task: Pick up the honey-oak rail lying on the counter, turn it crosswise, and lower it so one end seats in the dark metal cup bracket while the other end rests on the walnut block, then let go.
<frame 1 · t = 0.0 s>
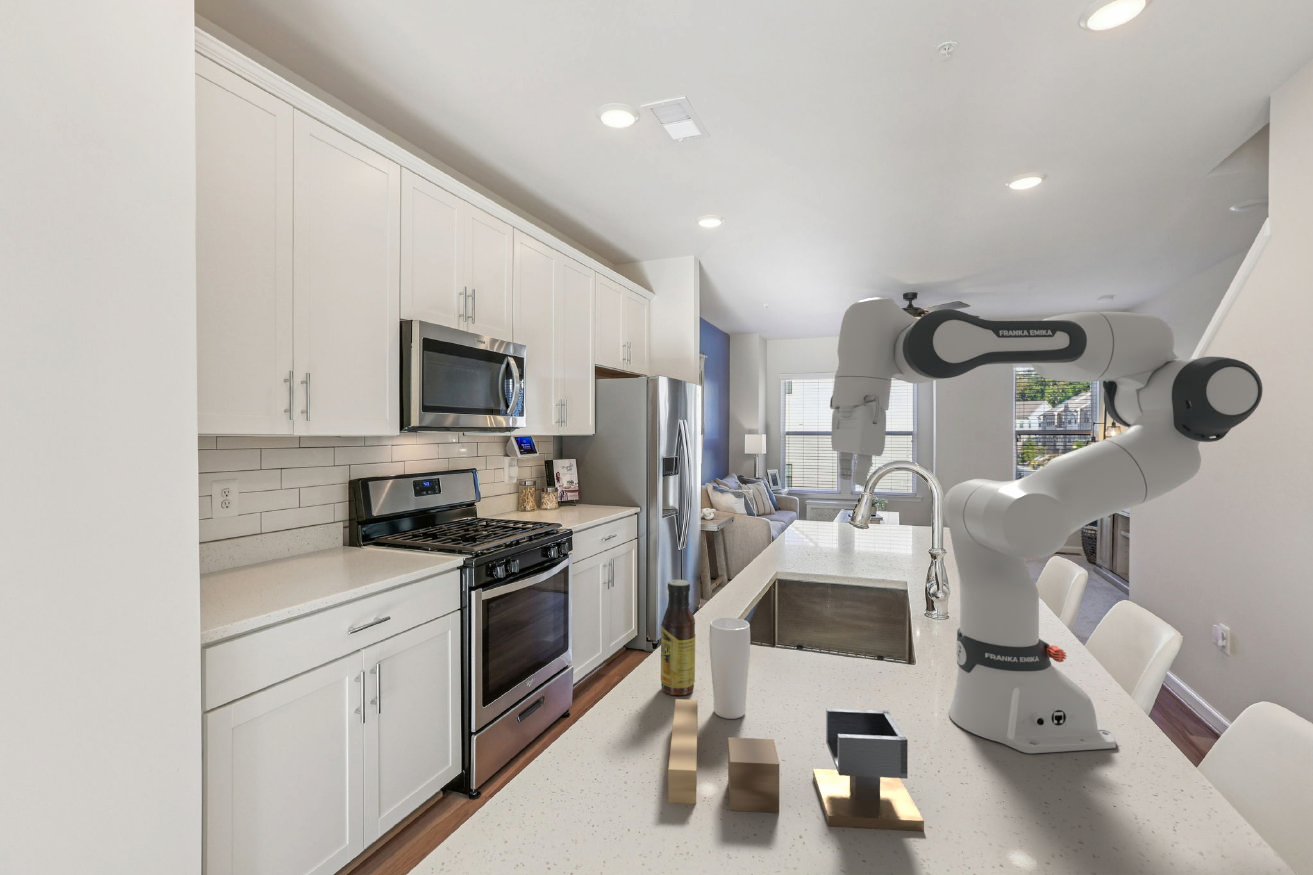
hand: (851, 481, 98), 39 cm above the counter, tool pointing down, fingers open, 8 cm apart
walnut block: (752, 796, 76), on the counter
sauce bottle: (677, 691, 108), on the counter
oak rail: (684, 761, 85), on the counter
cup bracket: (864, 802, 75), on the counter
drinking glass: (729, 714, 99), on the counter
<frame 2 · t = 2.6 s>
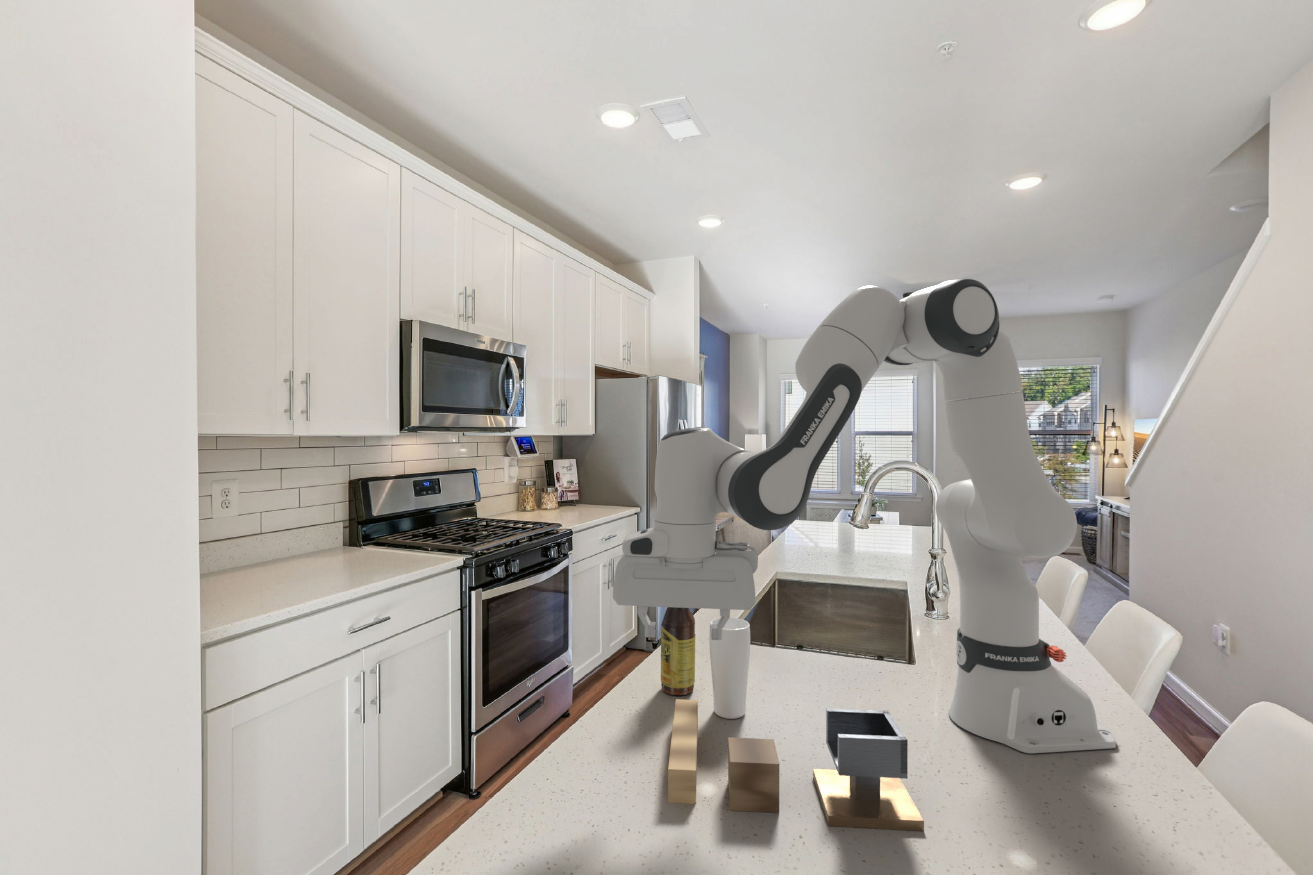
hand: (683, 637, 85), 17 cm above the counter, tool pointing down, fingers open, 8 cm apart
nothing on the counter moved.
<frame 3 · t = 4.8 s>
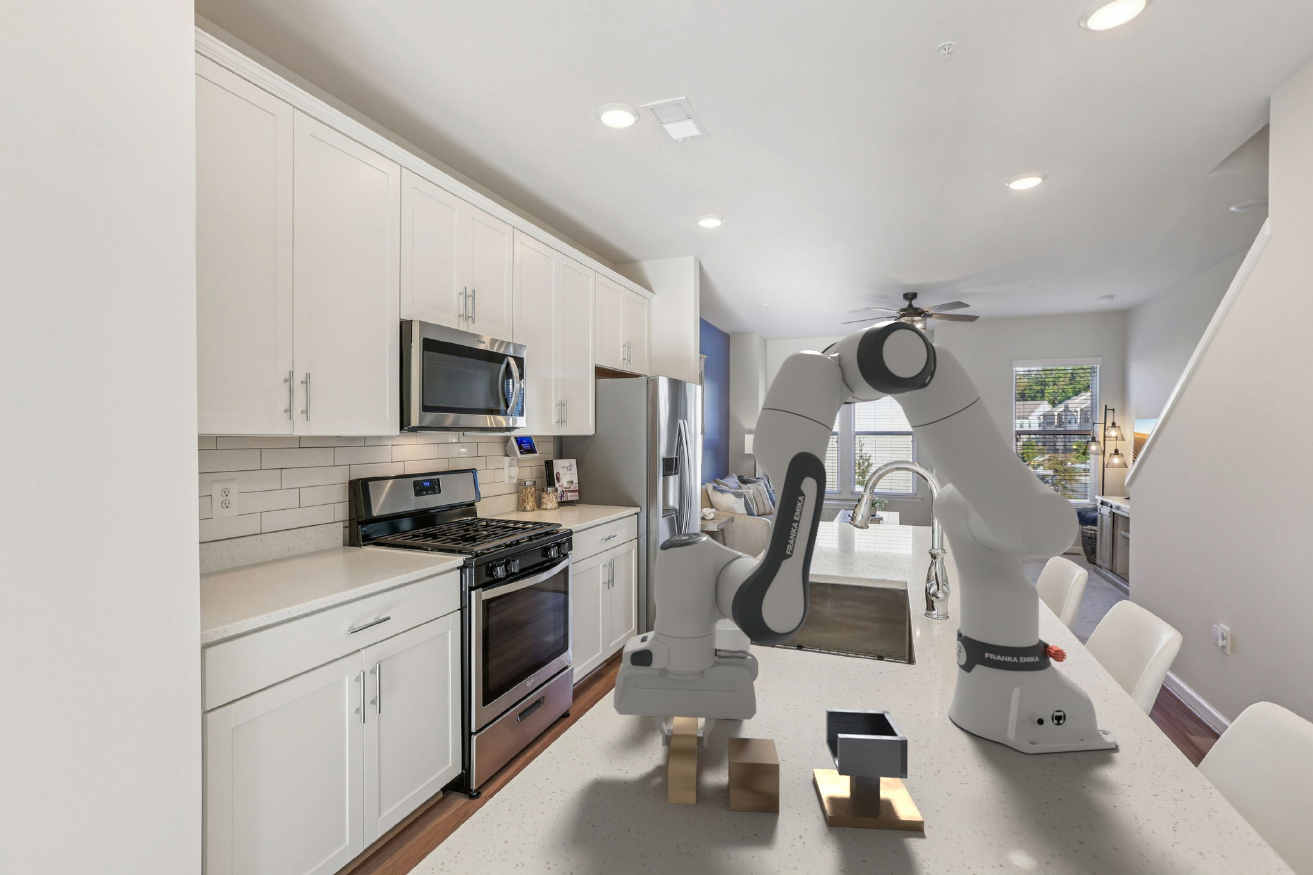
hand: (684, 744, 85), 2 cm above the counter, tool pointing down, fingers open, 3 cm apart
nothing on the counter moved.
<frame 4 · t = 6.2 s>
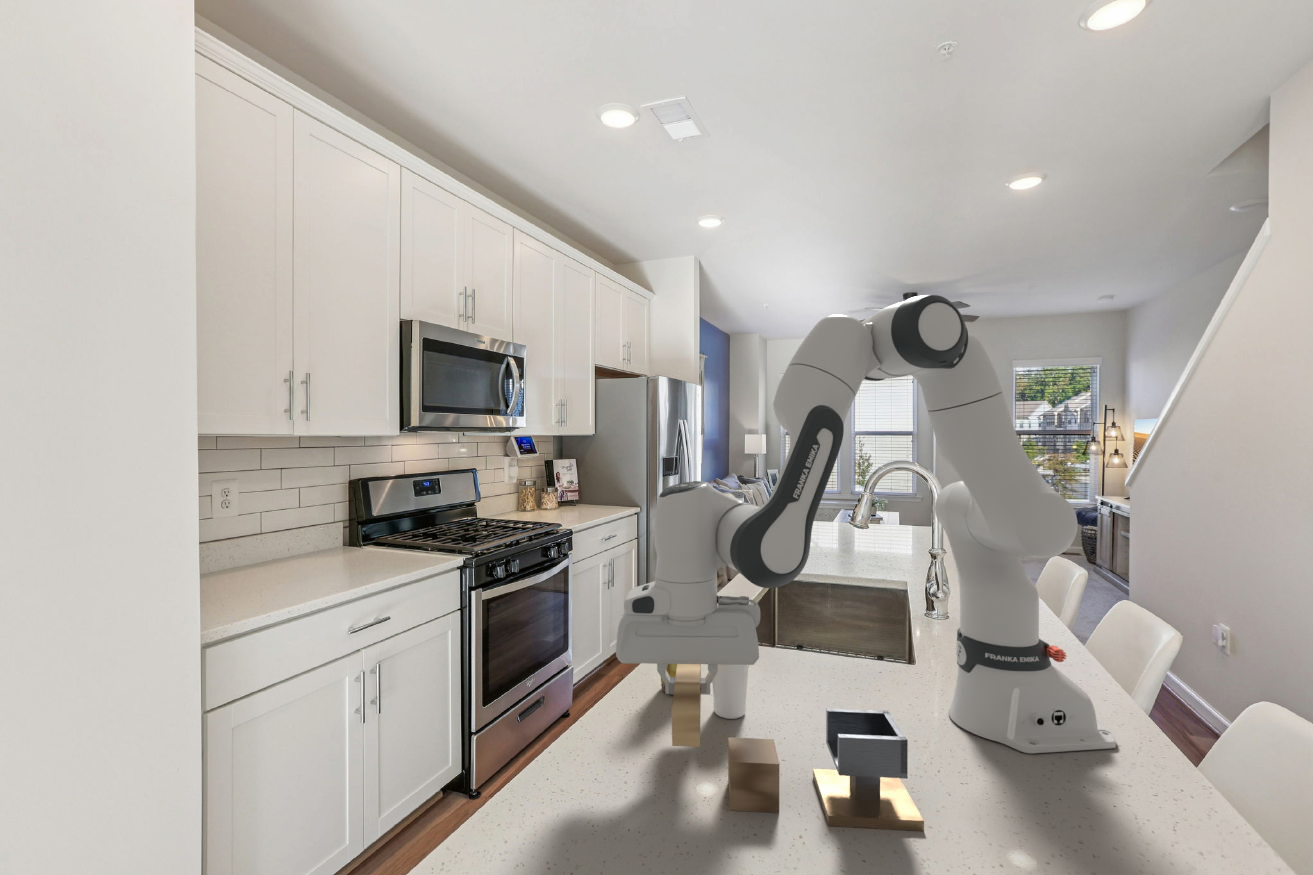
hand: (687, 692, 85), 10 cm above the counter, tool pointing down, fingers closed on oak rail, 3 cm apart
oak rail: (688, 709, 85), point 7 cm above the counter, touching gripper
everything else where it was.
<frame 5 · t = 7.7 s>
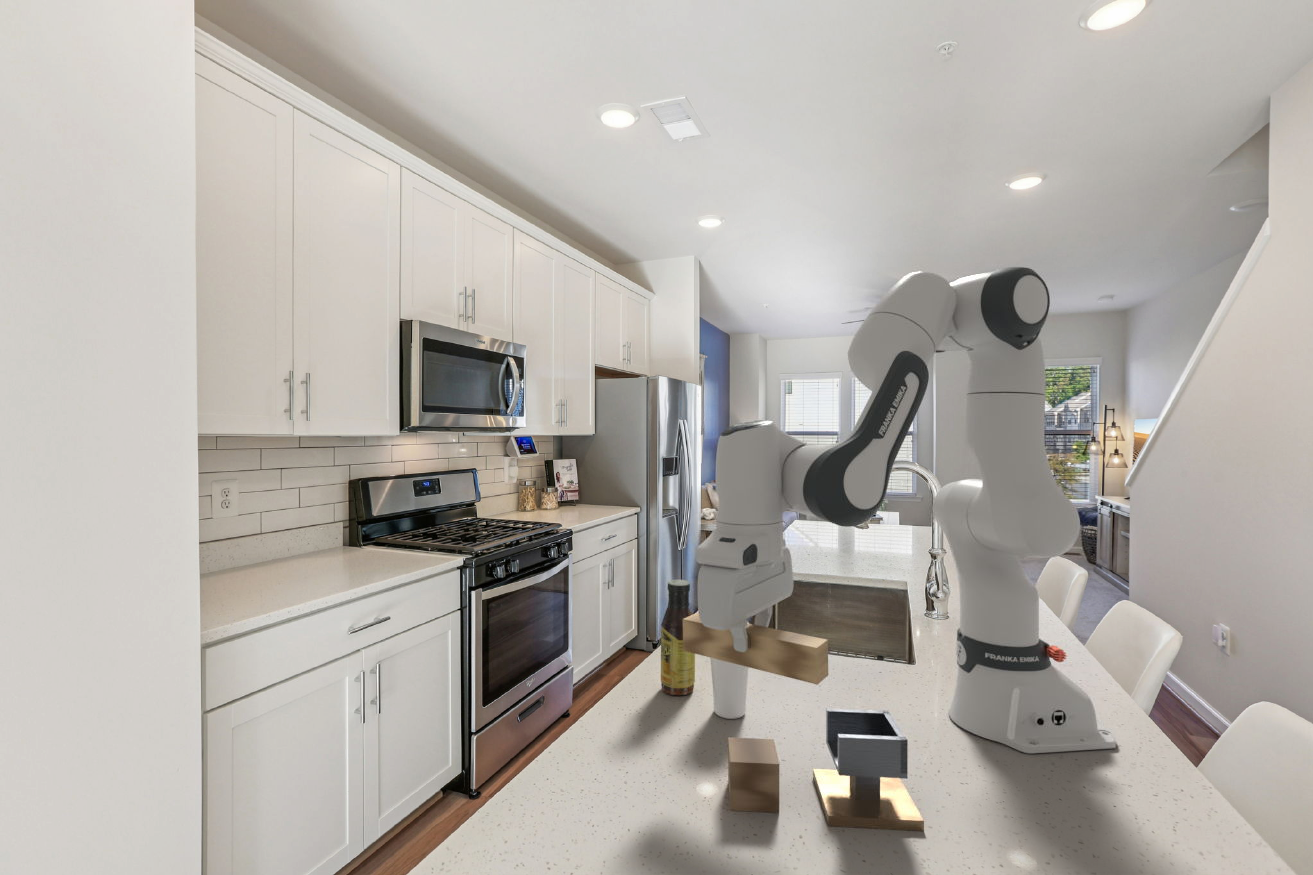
hand: (751, 644, 80), 18 cm above the counter, tool pointing down, fingers closed on oak rail, 3 cm apart
oak rail: (751, 662, 80), point 16 cm above the counter, touching gripper
everything else where it was.
when the fingers open (9 cm above the counter, at t = 10.1 s): oak rail stays where it is, resting on cup bracket, walnut block.
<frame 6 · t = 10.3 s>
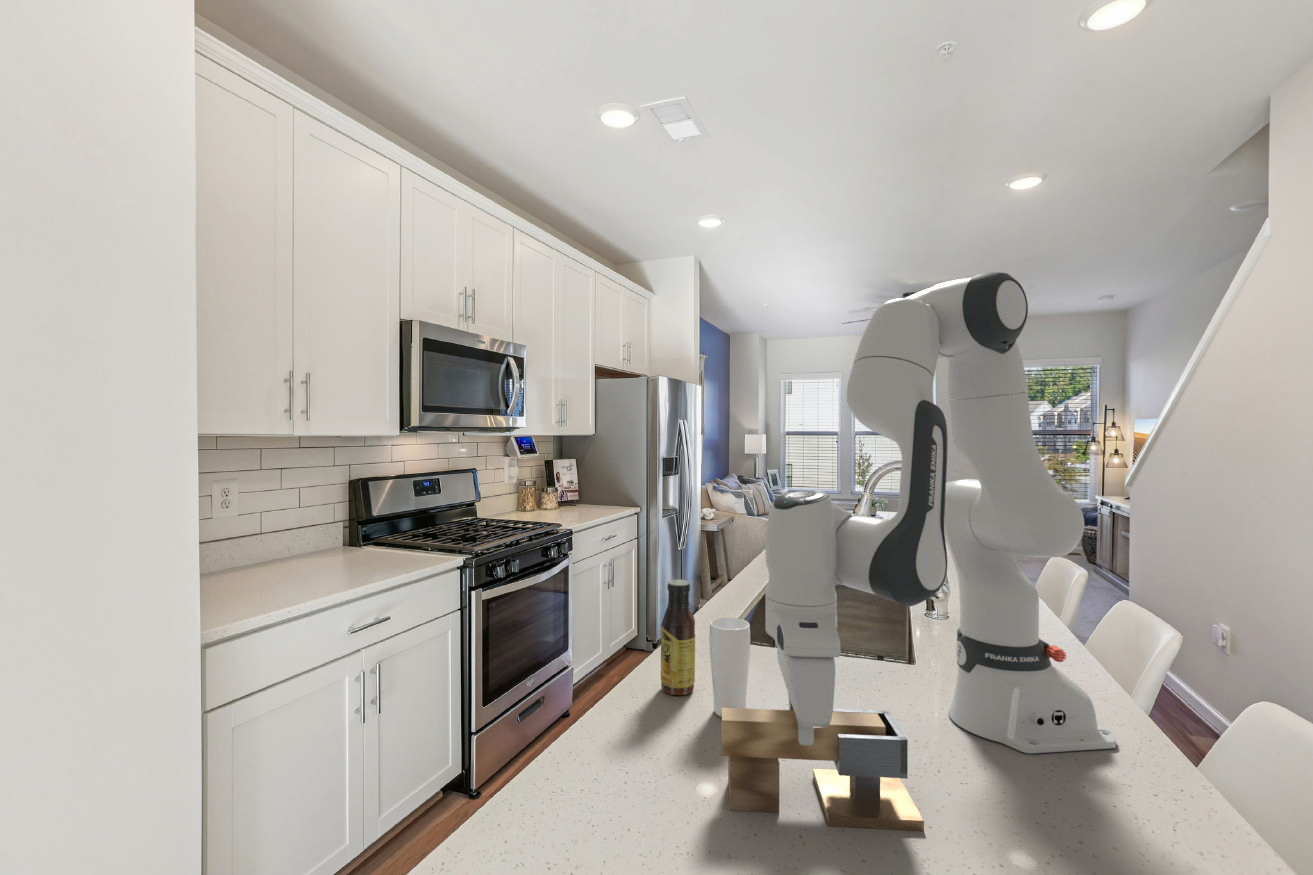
hand: (800, 727, 76), 9 cm above the counter, tool pointing down, fingers open, 6 cm apart
oak rail: (800, 752, 76), point 6 cm above the counter, touching cup bracket, walnut block
everything else where it was.
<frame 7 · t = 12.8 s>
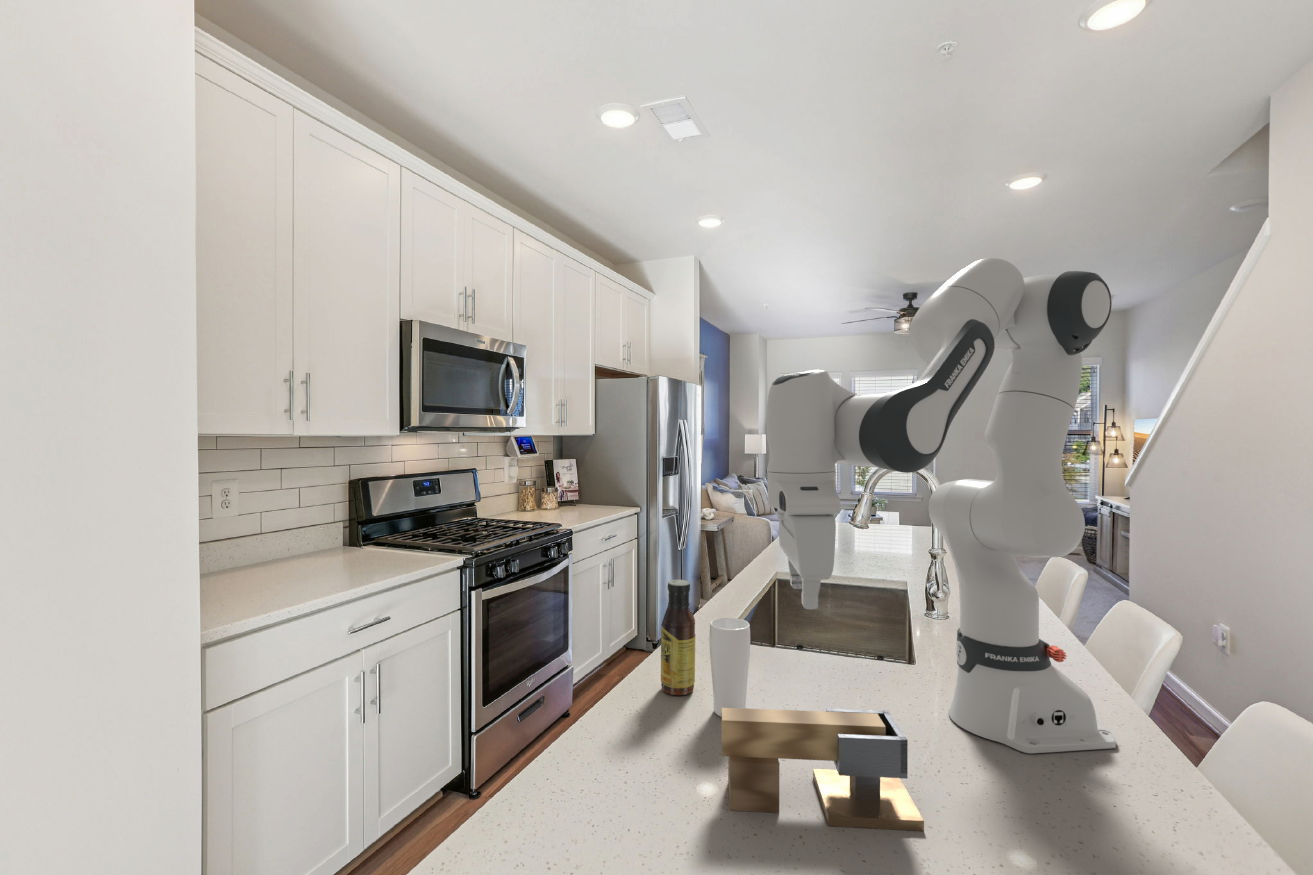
hand: (803, 597, 79), 25 cm above the counter, tool pointing down, fingers open, 8 cm apart
nothing on the counter moved.
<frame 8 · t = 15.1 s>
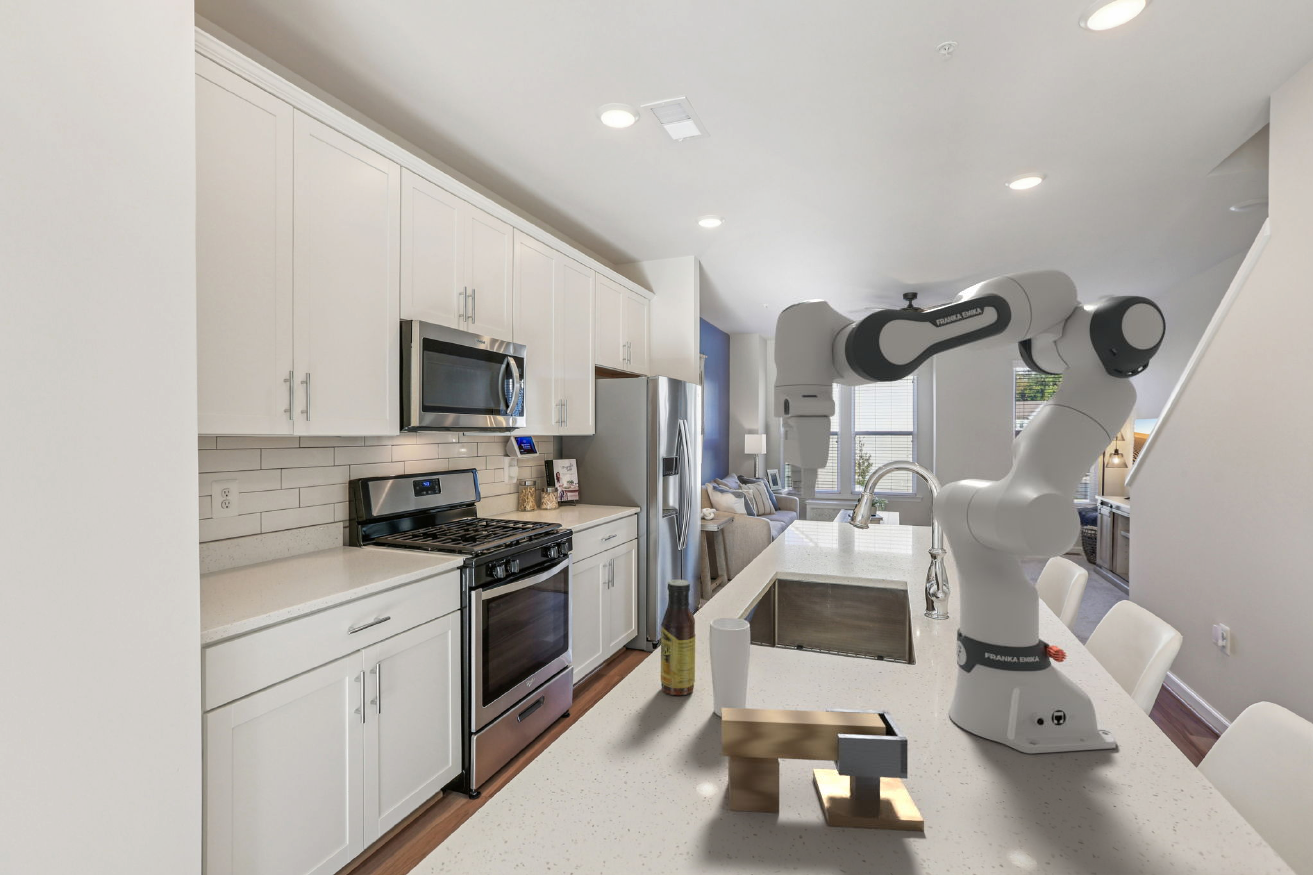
hand: (802, 495, 92), 37 cm above the counter, tool pointing down, fingers open, 8 cm apart
nothing on the counter moved.
at the end: oak rail 0.3 cm from the target spot on the cup bracket, point 6.0 cm above the cup bracket's base; oak rail tilted 0°; the gripper is holding nothing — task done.
